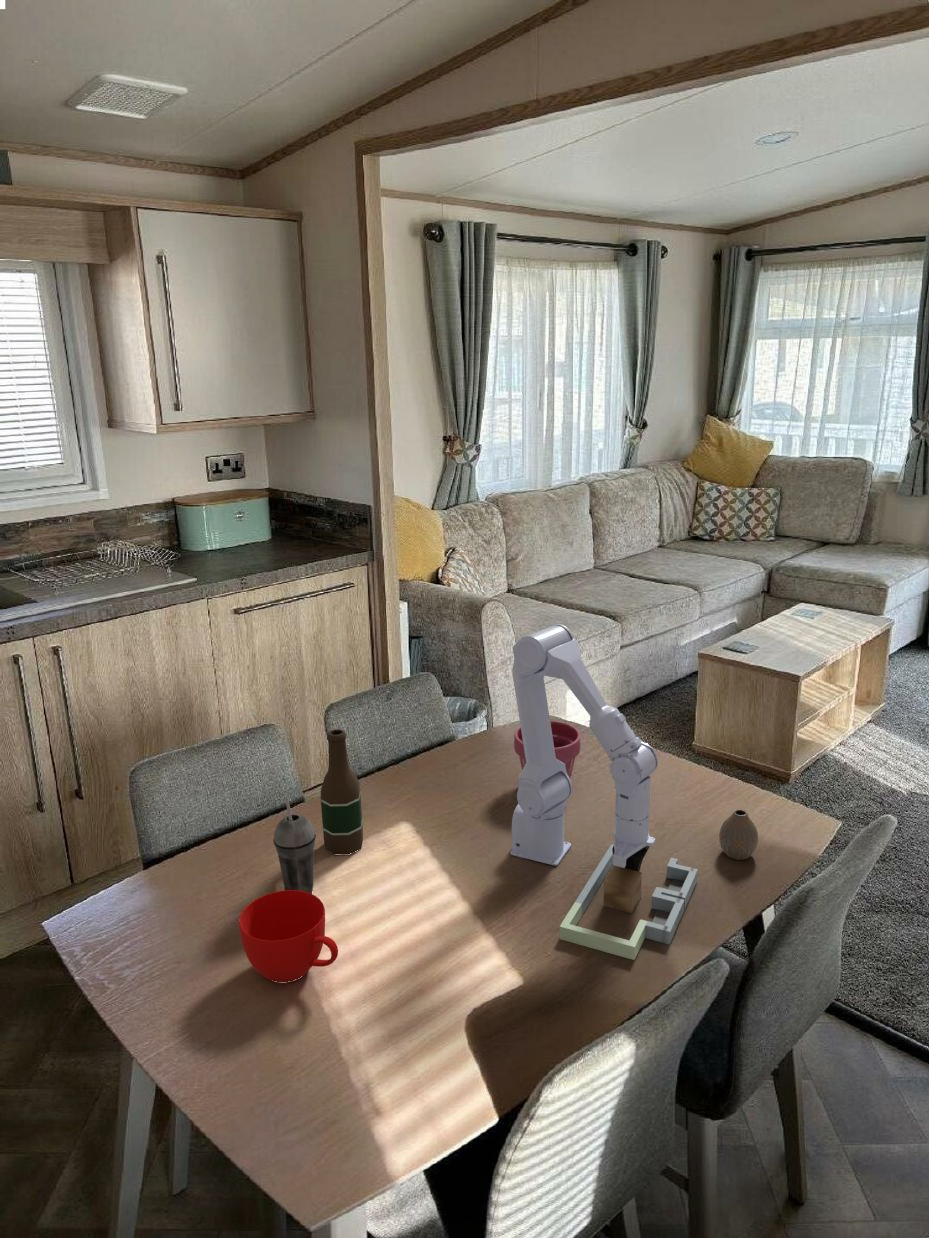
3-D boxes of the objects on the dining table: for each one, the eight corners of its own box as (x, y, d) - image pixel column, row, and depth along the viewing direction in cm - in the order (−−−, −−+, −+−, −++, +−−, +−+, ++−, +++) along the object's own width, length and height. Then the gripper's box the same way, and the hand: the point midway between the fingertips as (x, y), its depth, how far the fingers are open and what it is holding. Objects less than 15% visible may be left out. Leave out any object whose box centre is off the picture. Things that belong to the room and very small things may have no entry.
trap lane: (559, 938, 146) (559, 926, 146) (611, 855, 169) (611, 843, 169) (659, 967, 139) (660, 954, 138) (699, 875, 162) (700, 864, 162)
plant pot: (583, 803, 188) (584, 747, 185) (515, 804, 189) (515, 748, 185) (576, 771, 202) (576, 718, 198) (513, 772, 202) (512, 719, 199)
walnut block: (603, 905, 154) (604, 880, 153) (613, 890, 159) (613, 865, 157) (631, 913, 152) (632, 887, 151) (640, 897, 156) (641, 872, 155)
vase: (758, 866, 165) (762, 823, 162) (719, 862, 166) (722, 820, 164) (754, 845, 171) (758, 804, 169) (717, 842, 173) (719, 801, 170)
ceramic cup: (310, 1019, 130) (305, 961, 127) (226, 979, 139) (220, 923, 136) (366, 967, 141) (362, 912, 138) (285, 933, 149) (279, 880, 146)
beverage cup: (328, 888, 161) (320, 788, 155) (305, 911, 155) (296, 807, 149) (294, 879, 164) (285, 780, 158) (270, 901, 158) (259, 799, 152)
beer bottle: (316, 852, 173) (307, 737, 166) (336, 832, 180) (328, 721, 172) (352, 859, 170) (344, 743, 163) (371, 839, 177) (364, 726, 170)
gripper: (643, 838, 147) (640, 910, 151) (666, 798, 159) (663, 865, 163) (601, 829, 150) (600, 899, 154) (627, 790, 162) (625, 857, 166)
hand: (629, 881), depth 159 cm, fingers closed
